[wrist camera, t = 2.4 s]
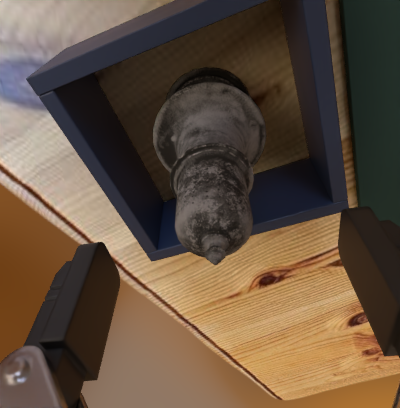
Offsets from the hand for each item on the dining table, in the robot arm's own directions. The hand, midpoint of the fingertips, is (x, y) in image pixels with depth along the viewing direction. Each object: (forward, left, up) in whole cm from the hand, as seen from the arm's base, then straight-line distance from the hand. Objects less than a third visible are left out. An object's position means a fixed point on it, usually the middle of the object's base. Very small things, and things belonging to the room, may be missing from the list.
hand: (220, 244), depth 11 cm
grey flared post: (0, 0, -11) cm, 11 cm away
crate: (0, 0, -11) cm, 11 cm away
